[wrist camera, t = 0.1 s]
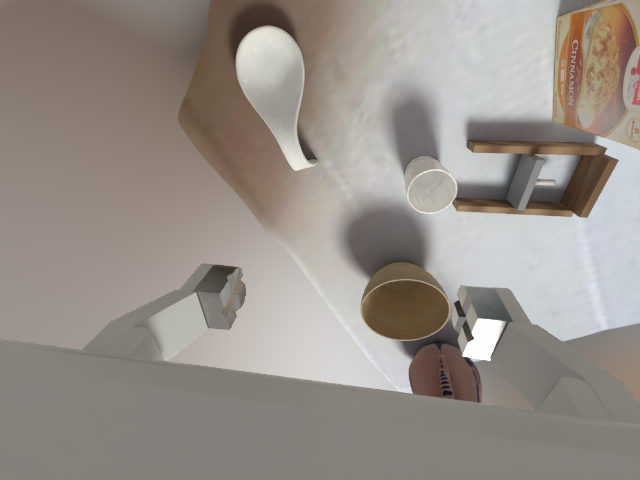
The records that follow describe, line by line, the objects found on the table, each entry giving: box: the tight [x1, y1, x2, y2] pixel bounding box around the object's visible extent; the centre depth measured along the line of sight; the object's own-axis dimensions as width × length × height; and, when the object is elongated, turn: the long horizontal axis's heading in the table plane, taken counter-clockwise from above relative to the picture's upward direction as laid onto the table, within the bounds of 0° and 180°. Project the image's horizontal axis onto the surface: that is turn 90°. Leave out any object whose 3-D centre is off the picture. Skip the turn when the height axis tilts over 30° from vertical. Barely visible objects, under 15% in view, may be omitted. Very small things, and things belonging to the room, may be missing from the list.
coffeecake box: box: [553, 0, 640, 150], centre depth 35 cm, size 15×7×20 cm, turn 19°
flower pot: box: [361, 262, 450, 341], centre depth 64 cm, size 18×18×12 cm
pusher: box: [506, 154, 555, 210], centre depth 50 cm, size 5×9×5 cm, turn 1°
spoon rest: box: [236, 25, 318, 171], centre depth 50 cm, size 24×12×7 cm, turn 19°
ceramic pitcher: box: [409, 343, 482, 403], centre depth 71 cm, size 18×21×25 cm
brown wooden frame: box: [453, 141, 619, 217], centre depth 50 cm, size 21×12×6 cm, turn 91°
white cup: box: [405, 156, 457, 214], centre depth 51 cm, size 8×8×10 cm
